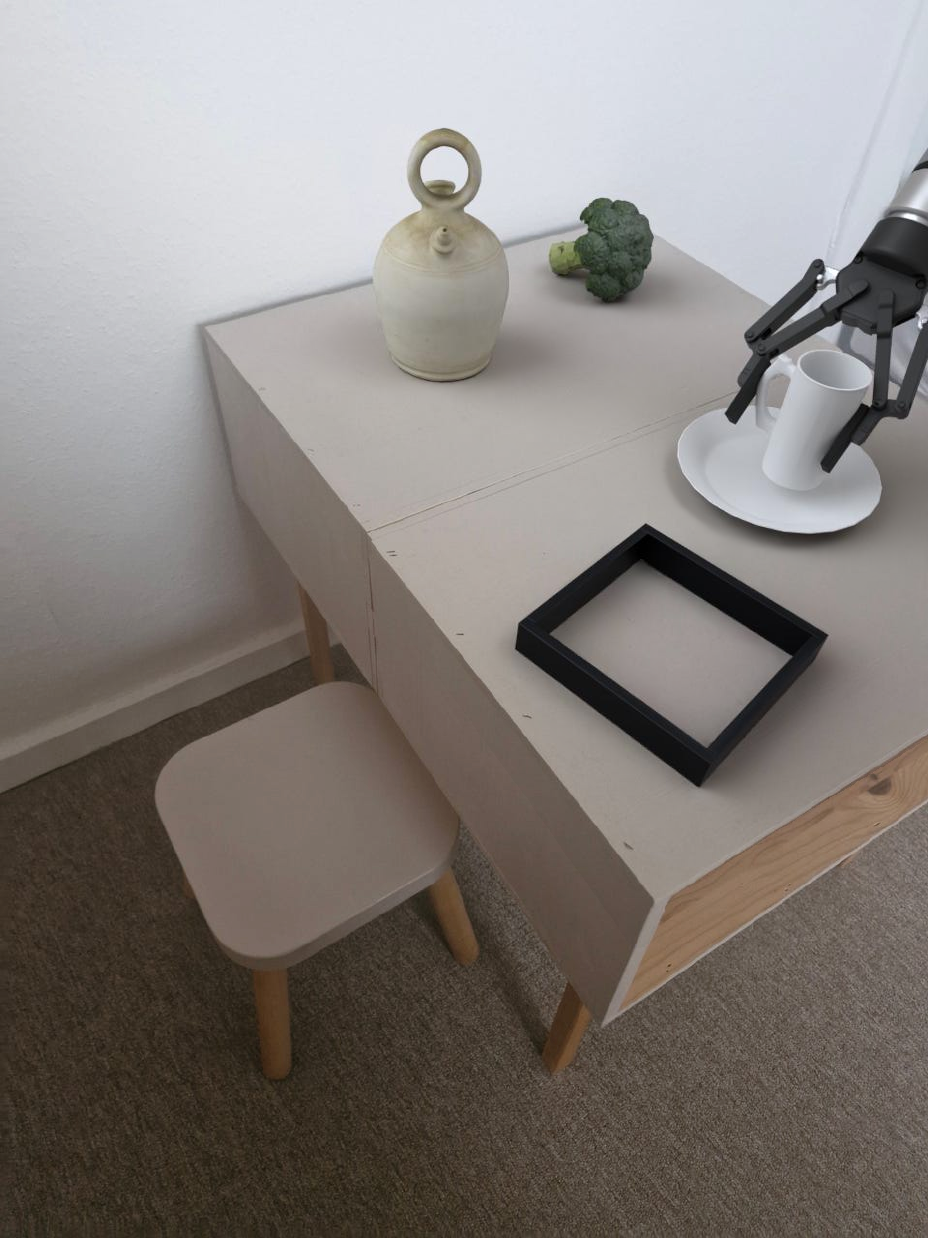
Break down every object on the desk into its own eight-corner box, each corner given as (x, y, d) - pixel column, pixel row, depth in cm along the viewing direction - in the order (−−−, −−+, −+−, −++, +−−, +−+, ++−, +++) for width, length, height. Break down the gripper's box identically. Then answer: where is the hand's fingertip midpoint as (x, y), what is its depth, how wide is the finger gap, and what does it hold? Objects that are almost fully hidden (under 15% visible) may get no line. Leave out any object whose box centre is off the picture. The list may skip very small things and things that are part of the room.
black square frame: (814, 660, 74) (829, 634, 71) (698, 788, 65) (710, 764, 62) (638, 549, 82) (645, 522, 79) (514, 649, 73) (518, 622, 70)
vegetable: (582, 232, 122) (678, 211, 112) (572, 321, 122) (666, 308, 113) (534, 196, 113) (633, 170, 103) (522, 292, 113) (621, 275, 104)
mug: (838, 475, 87) (886, 373, 78) (801, 502, 84) (847, 398, 75) (758, 428, 92) (794, 327, 83) (720, 452, 89) (754, 349, 80)
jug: (399, 312, 109) (396, 94, 90) (515, 334, 107) (537, 115, 88) (357, 375, 99) (344, 145, 81) (484, 400, 97) (502, 170, 78)
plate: (913, 497, 89) (922, 480, 87) (787, 579, 80) (795, 562, 78) (758, 401, 99) (764, 384, 98) (632, 464, 91) (636, 447, 89)
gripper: (1032, 299, 78) (883, 507, 82) (812, 216, 88) (689, 405, 92) (1043, 261, 71) (881, 488, 75) (805, 176, 81) (672, 381, 85)
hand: (776, 443), depth 83 cm, fingers closed on mug, 10 cm apart
